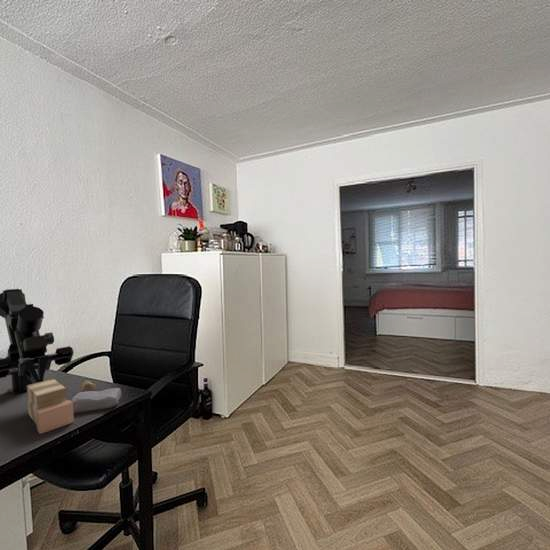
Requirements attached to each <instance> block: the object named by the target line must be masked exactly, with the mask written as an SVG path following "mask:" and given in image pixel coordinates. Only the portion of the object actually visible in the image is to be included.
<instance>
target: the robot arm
mask: <svg viewBox="0 0 550 550" xmlns="http://www.w3.org/2000/svg"><path fill="white" fill-rule="evenodd" d="M25 295H26V294H25V293H23V289H20V288H10V289H9V288H8V289H4V290H2V292H0V317H1V318H3V319H4V320H5V325H6V329H7V334H8V338H9V339H8V340H9V343H10V344H9V346H8V349H7V356H5V358H0V379H2V378H7V377H8V376H10V379H11V388H8V389H7V391H8V392H10V393H13V394H14V395H16V394H20V393H24V392H27V385H30V384H34V383H38V382H42V381H44V378H45V373H46V371H48V370H50V369H51V365H52V362H53V361H54V364H55V365H57V366H62V365H67V364H69V363H71V362H72V360H73V356H74V349H73V347H71V346H69V345H68V346H64V347H58V348H56V349H55V352H53V353H50V354H46V353H47V351H48V349H47V347H48V345H53V344H54V342H55V337H54V333H53V332H52V331H51V332H45V333H44V334H42V335H41V334H40V330H41V328H42V323H43V319H44V318H45V317H44V314H45V313H44V311H43V309H41V308H40V307H38V306H34V304H33V303H29V304H27V301H26V296H25Z"/></svg>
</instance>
